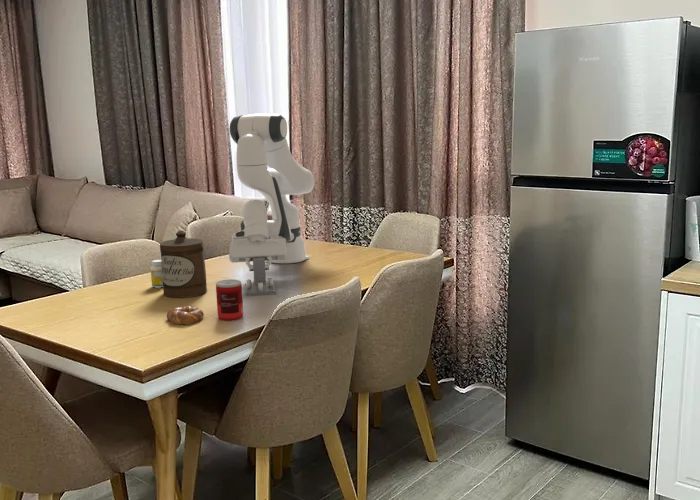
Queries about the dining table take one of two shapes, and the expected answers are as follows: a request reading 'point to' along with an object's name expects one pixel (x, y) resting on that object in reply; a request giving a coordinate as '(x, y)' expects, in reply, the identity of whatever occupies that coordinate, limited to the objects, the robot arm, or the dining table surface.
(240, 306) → the canned food
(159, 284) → the supplement bottle
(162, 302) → the dining table surface
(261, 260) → the block
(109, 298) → the dining table surface
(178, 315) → the pretzel
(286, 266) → the dining table surface
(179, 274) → the wooden container
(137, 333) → the dining table surface
